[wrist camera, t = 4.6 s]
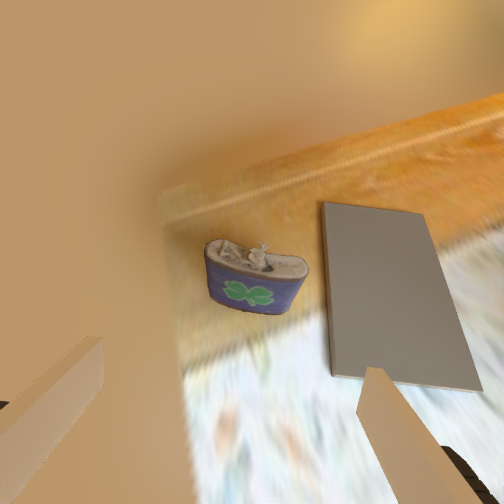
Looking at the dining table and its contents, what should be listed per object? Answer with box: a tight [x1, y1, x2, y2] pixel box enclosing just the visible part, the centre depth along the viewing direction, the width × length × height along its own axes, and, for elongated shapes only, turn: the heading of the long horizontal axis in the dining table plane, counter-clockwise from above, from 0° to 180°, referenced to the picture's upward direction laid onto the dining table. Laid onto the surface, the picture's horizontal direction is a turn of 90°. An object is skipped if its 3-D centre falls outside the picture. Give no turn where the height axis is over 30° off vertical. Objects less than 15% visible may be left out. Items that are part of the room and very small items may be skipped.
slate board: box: [321, 202, 484, 393], centre depth 31 cm, size 14×22×2 cm, turn 174°
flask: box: [204, 239, 309, 315], centre depth 24 cm, size 9×3×11 cm, turn 78°
